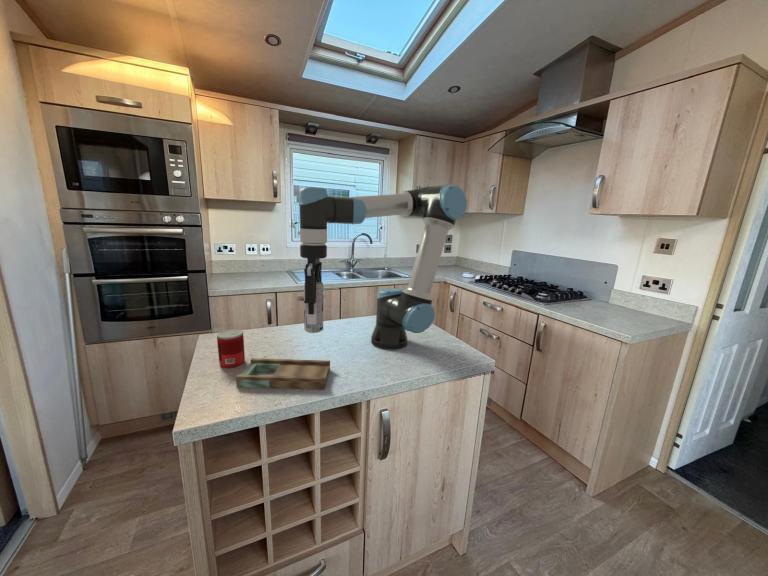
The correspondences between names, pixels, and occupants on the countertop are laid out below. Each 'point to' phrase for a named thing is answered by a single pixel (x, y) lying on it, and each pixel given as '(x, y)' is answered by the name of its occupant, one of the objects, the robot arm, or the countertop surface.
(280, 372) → the rail board
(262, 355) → the countertop surface
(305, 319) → the beverage can
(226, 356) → the canned food
